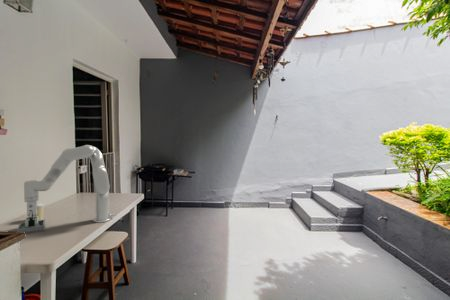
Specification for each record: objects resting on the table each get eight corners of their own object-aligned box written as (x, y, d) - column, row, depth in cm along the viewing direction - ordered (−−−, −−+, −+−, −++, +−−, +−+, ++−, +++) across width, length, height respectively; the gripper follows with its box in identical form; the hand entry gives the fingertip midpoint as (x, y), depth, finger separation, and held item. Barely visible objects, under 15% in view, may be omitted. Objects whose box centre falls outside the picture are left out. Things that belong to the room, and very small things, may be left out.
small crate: (38, 222, 167) (38, 215, 167) (37, 225, 162) (37, 218, 161) (26, 224, 163) (26, 217, 163) (25, 227, 158) (25, 220, 158)
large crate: (45, 224, 172) (45, 219, 172) (44, 230, 161) (44, 225, 161) (20, 227, 164) (20, 223, 164) (16, 234, 153) (16, 229, 153)
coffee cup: (31, 218, 183) (31, 203, 183) (46, 217, 187) (45, 202, 186) (26, 222, 174) (26, 206, 174) (41, 221, 178) (41, 205, 177)
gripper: (37, 200, 157) (37, 227, 158) (39, 195, 171) (39, 219, 172) (22, 202, 152) (23, 229, 153) (26, 196, 167) (26, 221, 168)
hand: (32, 224), depth 163 cm, fingers closed on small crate, 6 cm apart
